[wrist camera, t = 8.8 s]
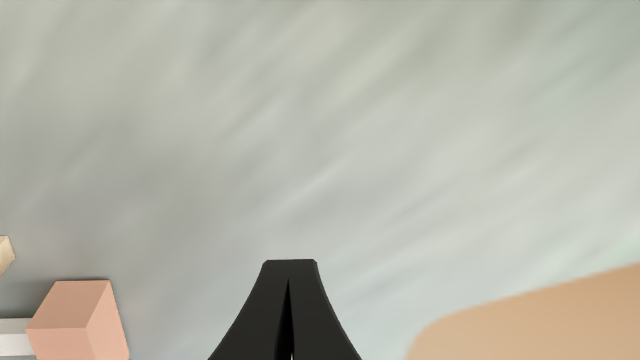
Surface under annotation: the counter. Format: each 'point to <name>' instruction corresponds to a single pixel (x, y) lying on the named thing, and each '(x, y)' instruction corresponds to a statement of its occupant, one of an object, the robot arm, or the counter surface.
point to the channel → (5, 254)
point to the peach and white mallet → (69, 325)
